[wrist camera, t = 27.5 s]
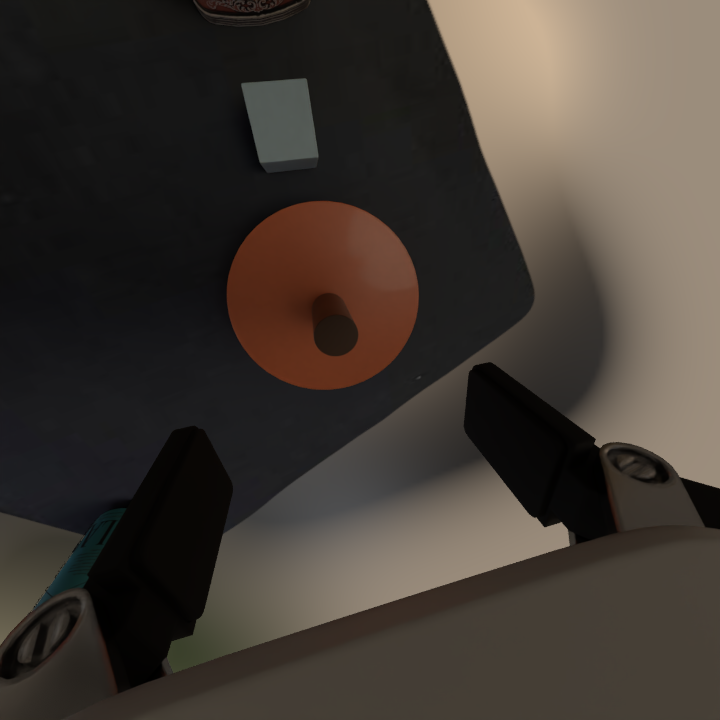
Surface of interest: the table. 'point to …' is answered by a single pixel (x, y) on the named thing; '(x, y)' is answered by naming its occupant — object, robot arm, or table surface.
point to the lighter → (248, 11)
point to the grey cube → (282, 124)
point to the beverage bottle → (84, 555)
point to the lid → (322, 295)
